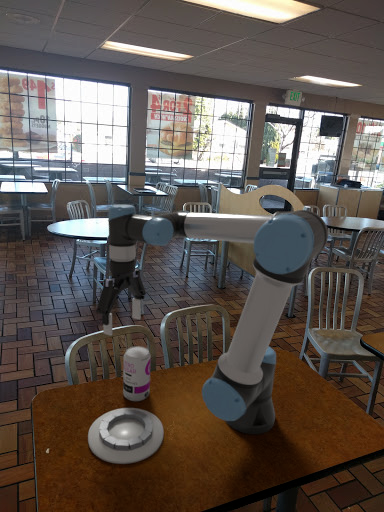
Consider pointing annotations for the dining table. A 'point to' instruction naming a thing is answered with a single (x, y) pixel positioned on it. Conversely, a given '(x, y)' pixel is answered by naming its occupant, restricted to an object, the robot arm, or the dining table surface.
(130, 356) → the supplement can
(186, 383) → the dining table surface
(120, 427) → the round tray
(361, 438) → the dining table surface
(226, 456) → the dining table surface
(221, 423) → the dining table surface
